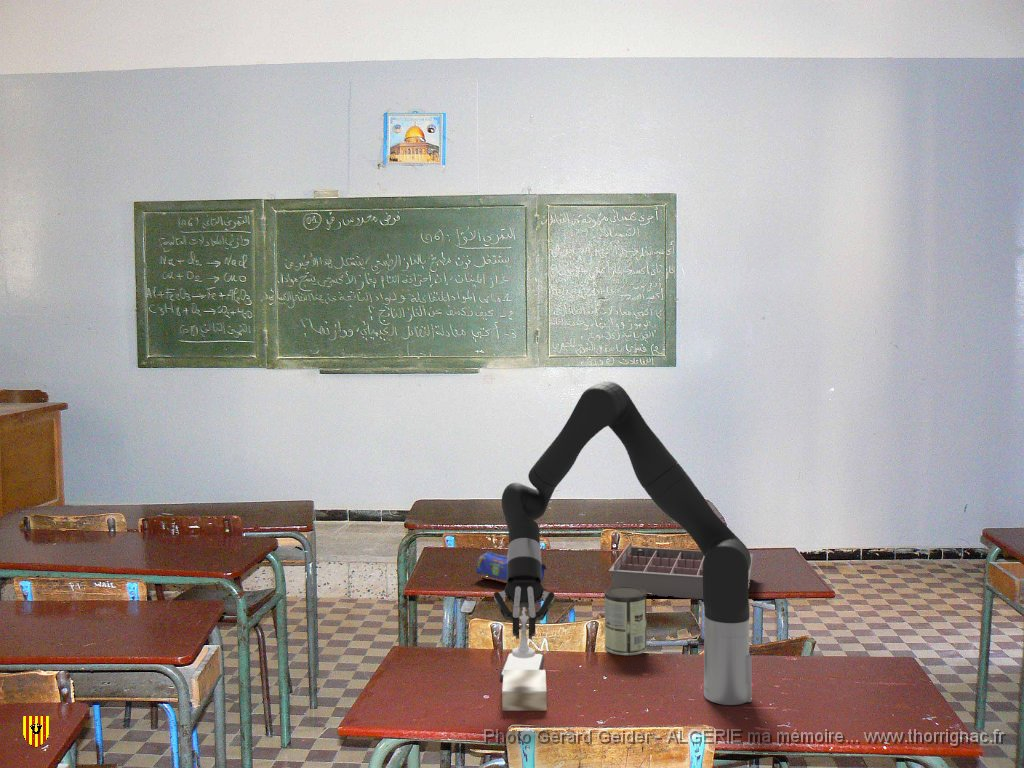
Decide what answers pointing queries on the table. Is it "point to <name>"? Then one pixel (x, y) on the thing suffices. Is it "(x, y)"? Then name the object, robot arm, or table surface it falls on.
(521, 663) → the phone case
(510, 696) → the birch stand
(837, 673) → the table surface
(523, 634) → the chess piece
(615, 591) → the coffee can
